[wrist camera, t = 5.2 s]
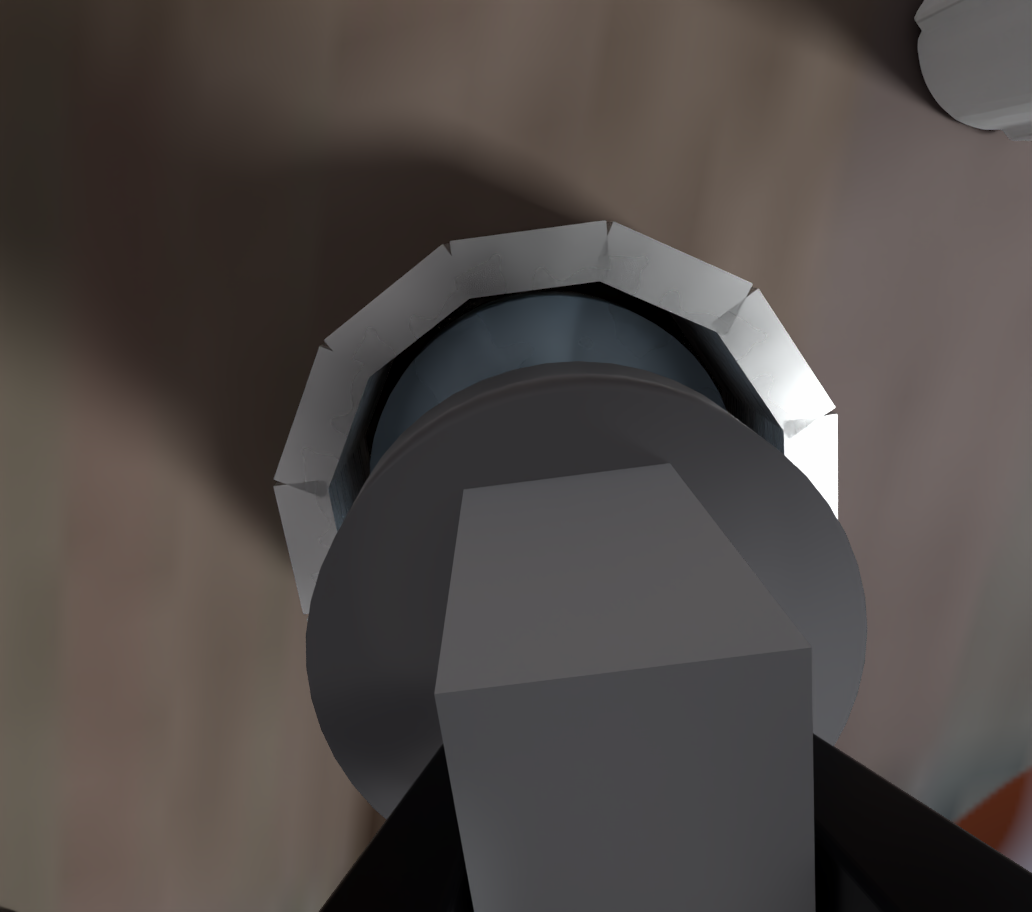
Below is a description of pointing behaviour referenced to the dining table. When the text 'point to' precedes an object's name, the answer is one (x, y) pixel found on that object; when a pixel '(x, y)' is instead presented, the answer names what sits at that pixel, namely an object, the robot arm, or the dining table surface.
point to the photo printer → (979, 62)
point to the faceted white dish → (538, 358)
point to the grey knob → (594, 642)
